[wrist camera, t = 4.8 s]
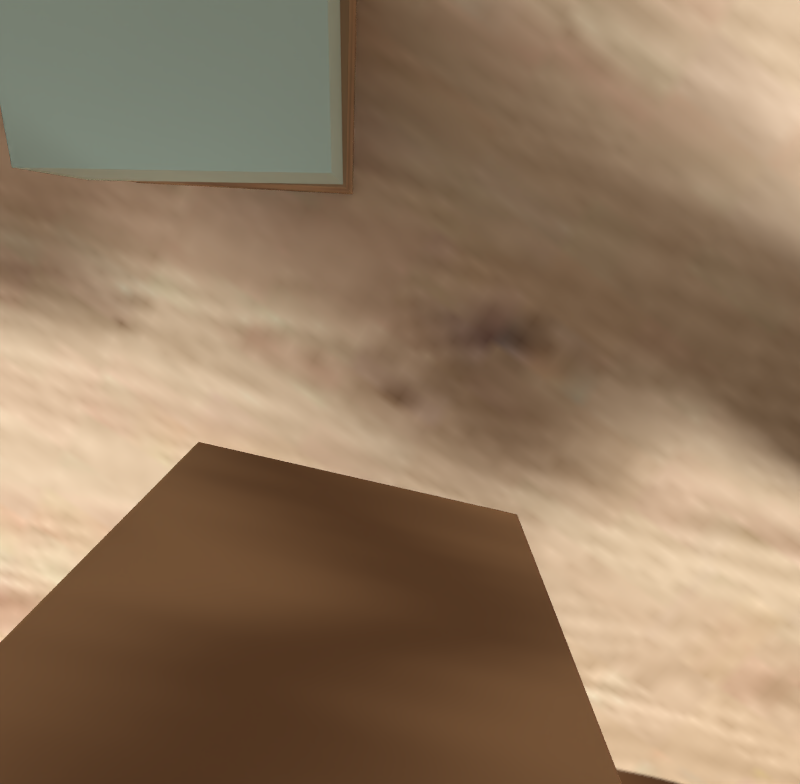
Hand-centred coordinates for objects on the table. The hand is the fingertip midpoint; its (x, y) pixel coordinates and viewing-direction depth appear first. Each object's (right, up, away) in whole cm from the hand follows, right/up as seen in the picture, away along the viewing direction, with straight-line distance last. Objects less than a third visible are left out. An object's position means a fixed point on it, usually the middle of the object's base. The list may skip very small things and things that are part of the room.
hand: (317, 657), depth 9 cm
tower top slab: (-5, +16, +8) cm, 19 cm away
